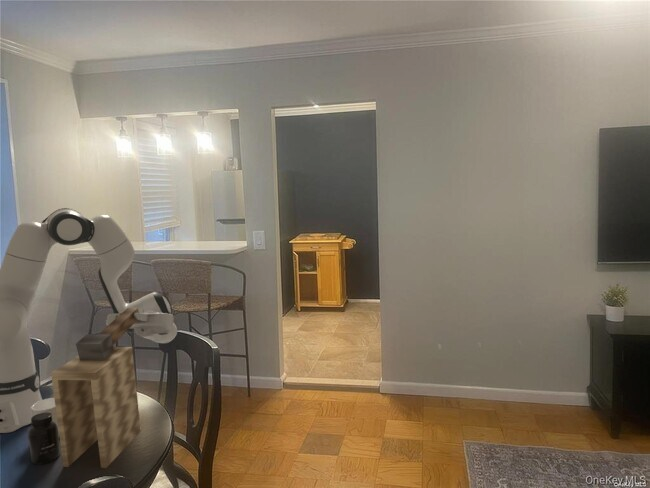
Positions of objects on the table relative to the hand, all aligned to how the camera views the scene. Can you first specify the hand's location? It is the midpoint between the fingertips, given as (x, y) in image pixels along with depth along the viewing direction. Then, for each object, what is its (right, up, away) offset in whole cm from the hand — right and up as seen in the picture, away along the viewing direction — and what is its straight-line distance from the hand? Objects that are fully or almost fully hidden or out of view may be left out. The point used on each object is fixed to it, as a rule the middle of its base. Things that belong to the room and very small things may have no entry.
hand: (127, 315), depth 145 cm
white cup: (-20, -35, -6) cm, 41 cm away
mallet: (-1, -5, -7) cm, 9 cm away
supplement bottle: (-15, -36, -17) cm, 43 cm away
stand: (-1, -35, -14) cm, 38 cm away
